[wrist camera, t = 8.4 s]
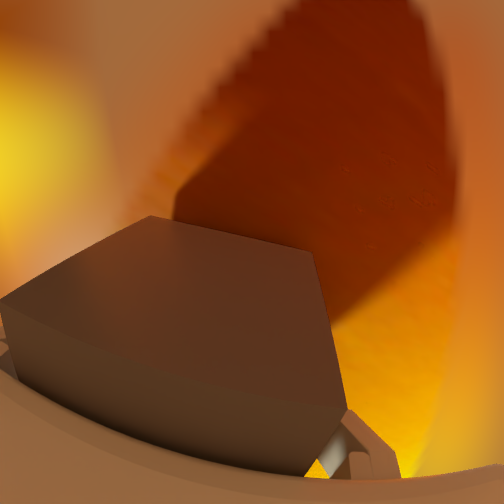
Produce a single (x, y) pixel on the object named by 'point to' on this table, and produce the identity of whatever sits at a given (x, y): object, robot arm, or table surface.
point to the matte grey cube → (186, 344)
